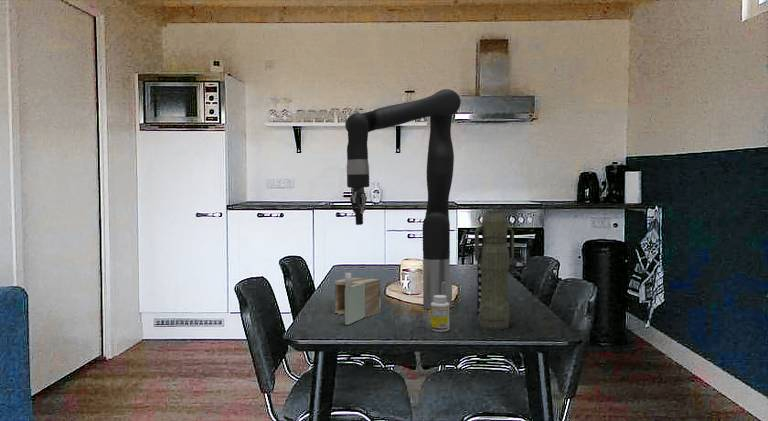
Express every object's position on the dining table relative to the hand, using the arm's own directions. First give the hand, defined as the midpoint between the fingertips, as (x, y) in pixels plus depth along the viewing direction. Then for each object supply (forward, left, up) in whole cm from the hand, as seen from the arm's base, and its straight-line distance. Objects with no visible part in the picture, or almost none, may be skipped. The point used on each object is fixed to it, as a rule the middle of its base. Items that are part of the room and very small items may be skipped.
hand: (359, 224), depth 223 cm
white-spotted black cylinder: (-41, -15, -30) cm, 53 cm away
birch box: (-1, +3, -30) cm, 30 cm away
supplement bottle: (-36, +12, -30) cm, 48 cm away
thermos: (-48, -1, -30) cm, 56 cm away
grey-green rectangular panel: (-7, +14, -29) cm, 33 cm away
